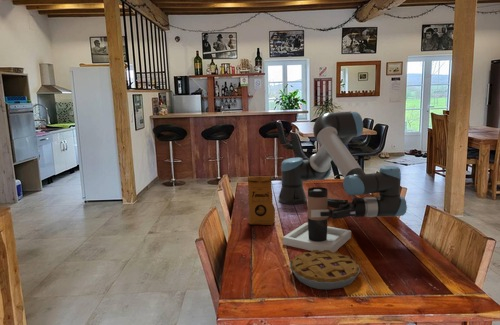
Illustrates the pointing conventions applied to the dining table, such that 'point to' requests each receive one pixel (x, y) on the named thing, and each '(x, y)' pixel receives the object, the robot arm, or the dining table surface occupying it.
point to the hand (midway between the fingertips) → (308, 208)
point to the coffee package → (260, 201)
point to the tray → (301, 240)
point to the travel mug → (317, 224)
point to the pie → (324, 269)
